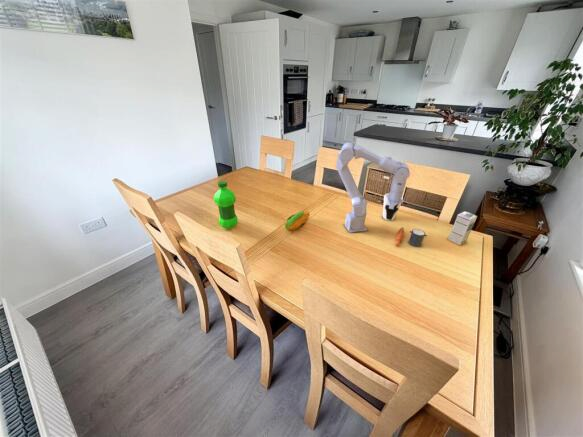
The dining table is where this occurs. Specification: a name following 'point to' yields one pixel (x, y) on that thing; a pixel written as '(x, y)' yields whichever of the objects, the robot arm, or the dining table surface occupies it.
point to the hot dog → (296, 221)
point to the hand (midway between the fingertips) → (390, 215)
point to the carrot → (399, 236)
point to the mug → (416, 237)
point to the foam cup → (388, 204)
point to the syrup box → (462, 227)
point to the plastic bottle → (226, 206)
